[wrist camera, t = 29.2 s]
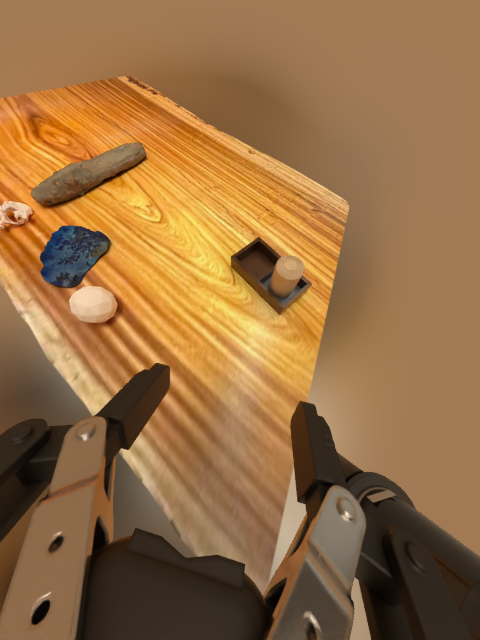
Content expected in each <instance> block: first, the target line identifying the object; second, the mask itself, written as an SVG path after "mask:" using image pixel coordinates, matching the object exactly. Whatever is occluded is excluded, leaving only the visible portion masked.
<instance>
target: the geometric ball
mask: <svg viewBox="0 0 480 640" xmlns="http://www.w3.org/2000/svg"><path fill="white" fill-rule="evenodd" d="M69 303H70V309H71V312H72V313H73V314H74V315H75V316H76V317H77V318H78V319H80V320H81V321H85V322H88V323H99V322H105V321H107V320H108V319H110V318H111V317H113V316H114V315H115V312H116V309H117V305H118V304H117V302H116V300H115V298H114V296H113V294H112V293H110V292H109V291H107V290H106V289H104V288H102V287H96V286H85V287H83V288H81V289H80V290H78V291H76V292H75V293H73V295H72V296H71V298H70V300H69Z"/></svg>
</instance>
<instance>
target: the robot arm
mask: <svg viewBox="0 0 480 640" xmlns="http://www.w3.org/2000/svg"><path fill="white" fill-rule="evenodd" d="M169 386H170V367H169V366H168V365H164V364H160V363H156V364H154V365H153V367H152V368H151V369H150V370H146V369H145V370H143V371H141V372H139V373H137V374H136V375H135V376H134V377H133V378H132V379H131V380H130V381H129V383H127V384H126V385H125V386H124V387H123V389H121V390H120V391H119V392H118V393H117V394H116V395H115V396H114V397H113V398H112V399H111V400H110V401H109V402H108V403H107V404H106V405H105V406H104V407H103V408H102V409H101V410H100V412H98V413H97V414H96V415H95V416H92V417H88V418H85V419H83V420H81V421H79V422H78V423H76V424H75V425H65V426H48V424H47V422H46V421H45V420H43V419H30V420H26V421H23V422H21V423H18V424H17V425H15V426H13V427H11V428H9V429H8V430H7V431H5V432H4V433H3V434H1V435H0V542H1V541H2V540H3V539H4V537H5V536H6V535H7V534H8V533H9V531H10V530H11V529H12V528H13V527H14V526H15V524H16V523H17V522H18V521H19V520H20V518H21V517H22V516H23V515H24V514H25V512H26V511H27V510H28V509H29V508H30V506H31V505H32V504H33V503H34V502H35V501H36V499H37V498H38V497H39V496H40V495H41V493H42V492H43V491H44V490H45V489H46V487H47V486H48V485H49V484H50V483H51V485H50V489H49V491H48V494H47V495H46V497H45V498H43V499H42V500H40V501H39V503H38V504H37V506H36V508H35V510H34V513H33V516H32V519H31V522H30V525H29V528H28V531H27V534H26V538H25V540H24V544H23V547H22V550H21V553H20V556H19V559H18V562H17V565H16V569H15V572H14V575H13V578H12V581H11V584H10V587H9V590H8V593H7V597H6V599H5V602H4V606H3V609H2V612H1V615H0V640H349V639H350V634H351V630H352V625H353V619H354V603H353V601H352V599H351V589H352V585H353V580H354V577H355V578H357V579H358V580H359V585H360V589H361V594H362V599H363V603H364V608H365V612H366V617H367V621H368V626H369V631H370V635H371V640H480V556H479V555H477V554H476V553H475V552H473V551H472V550H471V549H469V548H468V547H466V546H465V545H464V544H462V543H461V542H460V541H458V540H457V539H456V538H454V537H453V536H452V535H450V534H449V533H447V532H446V531H445V530H443V529H442V528H440V527H439V526H438V525H436V524H435V523H434V522H432V521H431V520H430V519H428V518H427V517H426V516H424V515H423V514H422V513H420V512H419V511H417V510H416V509H415V508H413V507H412V506H411V505H409V504H408V503H407V502H405V501H404V500H403V499H402V498H401V497H399V496H398V495H397V494H395V493H394V492H393V491H391V490H390V489H388V488H385V487H382V486H370V487H367V488H365V489H364V490H362V491H361V492H360V494H359V495H358V496H357V498H355V497H354V496H353V495H352V494H351V493H350V492H349V490H348V487H347V484H346V481H345V478H344V474H343V471H342V468H341V464H340V461H339V458H338V454H337V451H336V449H335V444H334V441H333V440H332V435H331V431H330V428H329V426H328V424H327V423H326V421H325V420H324V418H323V417H321V416H318V414H317V411H316V407H315V405H314V404H311V403H307V402H303V401H300V402H299V404H298V406H297V408H296V410H295V412H294V414H293V416H292V418H291V425H290V428H291V439H292V449H293V459H294V470H295V480H296V491H297V501H298V502H300V503H303V504H306V511H307V514H306V515H305V517H304V519H303V521H302V523H301V525H300V527H299V529H298V531H297V534H296V535H295V537H294V540H293V541H292V544H291V546H290V547H289V549H288V551H287V553H286V555H285V558H284V560H283V561H282V563H281V564H280V566H279V567H278V569H277V570H276V572H275V574H274V576H273V577H272V579H271V581H270V583H269V585H268V587H267V589H266V591H265V593H264V595H263V596H262V594H261V592H260V591H259V589H258V588H257V586H256V585H255V583H254V582H253V581H252V580H251V579H250V578H249V577H248V576H247V575H246V574H245V573H244V569H245V564H243V563H240V562H237V561H234V560H231V559H228V558H225V557H222V556H219V555H211V556H202V557H194V558H186V557H184V556H182V555H181V554H180V553H179V552H178V551H177V550H176V549H175V548H174V547H173V546H172V545H170V544H169V543H168V542H167V541H166V540H165V539H164V538H163V537H161V536H159V535H156V534H153V533H149V532H146V531H143V530H140V529H137V528H135V531H134V533H133V535H132V536H127V537H124V538H120V539H118V540H115V541H113V542H112V539H113V505H112V504H113V487H114V486H113V485H114V472H115V456H116V455H117V453H118V452H119V450H120V449H121V448H123V449H126V450H129V449H130V447H131V446H132V444H133V443H134V441H135V440H136V438H137V437H138V435H139V434H140V432H141V431H142V429H143V428H144V426H145V425H146V423H147V422H148V420H149V419H150V417H151V416H152V414H153V413H154V411H155V410H156V408H157V407H158V405H159V404H160V402H161V401H162V399H163V398H164V396H165V395H166V393H167V391H168V389H169Z"/></svg>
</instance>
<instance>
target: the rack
mask: <svg viewBox="0 0 480 640" xmlns="http://www.w3.org/2000/svg"><path fill="white" fill-rule="evenodd" d="M280 258H281V256H280V255H279V254H278V253H276V252H275V251H274V250H273V249H272V248H271V247H270V246H269V245H267V244H266V243H265V242H264V241H263V240H262V239H261V238H260V237H258V238H257V239H255V240H254V241H253V242H251V243H250V244H248V245H247V246H246V247H244V248H243V249H241V250H240V251H239V252H237V253H236V254H234V255H233V256H231V266H232V267H233V268H234V269H235V270H236V271H237V272H238V273H239V274H240V275H241V276H242V277H243V278H244V279H245V280H246V281H247V282H248V283H249V284H250V285H251V286H252V287H253V288H254V289H255V290H256V291H257V292H258V293H259V294H260V295H261V296H262V297H263V298H264V299H265V300H266V301H267V302H268V303H269V304H270V305H271V306H272V307H273V308H274V309H275V310H276V311H277V312H278V313H279V314H281V313H283V312H284V311H285V310H286V309H287V308H288V307H289V306H291V305H292V304H293V303H294V302H295V301H296V300H297V299H299V298H300V297H301V296H302V295H303V294H304V293H305V292H306V291H307V290H308V289H309V288H310V286H311V285H312V284H311V283H310V282H309V281H308V280H307V279H306V278H305V277H303V276H301V278H300V280H299V281H298V283H297V285H296V286H295V288H294V289H293V291H292V293H291V294H290V295H289V296H288V297H287V298H284V299H278V298H277V297H276V296H275V295H274V294H273V293H272V292H271V291H270V290H269V284H270V281H271V278H272V275H273V272H274V269H275V266H276V263H277V261H278V260H279V259H280Z"/></svg>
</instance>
